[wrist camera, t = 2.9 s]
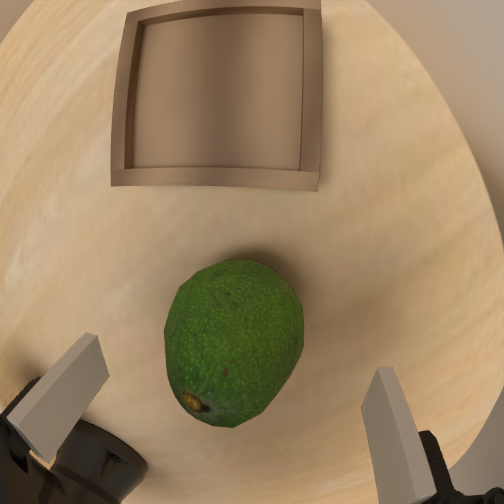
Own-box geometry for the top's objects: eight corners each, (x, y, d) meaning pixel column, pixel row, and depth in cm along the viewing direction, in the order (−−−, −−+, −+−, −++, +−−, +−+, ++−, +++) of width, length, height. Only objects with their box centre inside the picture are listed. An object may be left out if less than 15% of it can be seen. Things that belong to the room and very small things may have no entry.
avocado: (261, 219, 19) (235, 303, 8) (318, 307, 21) (344, 439, 9) (173, 275, 21) (87, 378, 10) (232, 350, 23) (199, 474, 11)
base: (140, 180, 19) (110, 186, 15) (150, 32, 15) (127, 12, 12) (309, 185, 18) (317, 191, 14) (313, 25, 14) (320, -2, 11)
